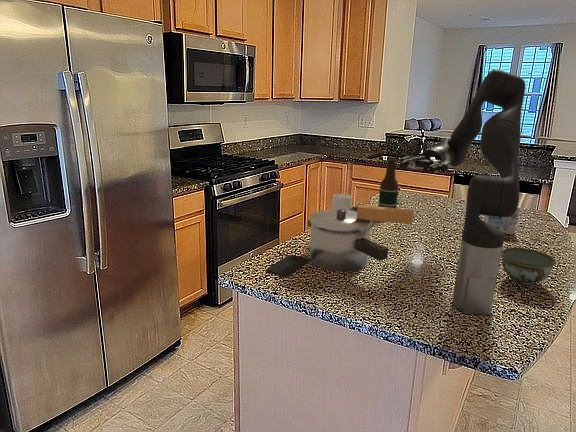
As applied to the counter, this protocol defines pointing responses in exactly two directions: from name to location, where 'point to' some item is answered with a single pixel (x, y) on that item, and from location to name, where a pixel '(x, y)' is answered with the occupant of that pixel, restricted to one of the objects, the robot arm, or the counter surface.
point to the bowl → (526, 265)
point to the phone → (287, 265)
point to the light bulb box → (503, 222)
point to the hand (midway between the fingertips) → (415, 167)
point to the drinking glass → (341, 202)
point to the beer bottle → (389, 187)
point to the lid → (358, 218)
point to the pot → (343, 250)
